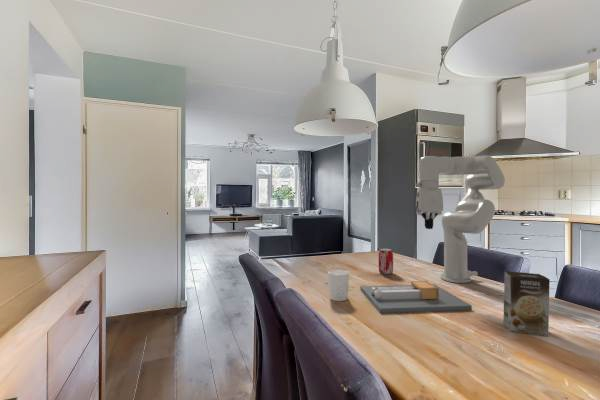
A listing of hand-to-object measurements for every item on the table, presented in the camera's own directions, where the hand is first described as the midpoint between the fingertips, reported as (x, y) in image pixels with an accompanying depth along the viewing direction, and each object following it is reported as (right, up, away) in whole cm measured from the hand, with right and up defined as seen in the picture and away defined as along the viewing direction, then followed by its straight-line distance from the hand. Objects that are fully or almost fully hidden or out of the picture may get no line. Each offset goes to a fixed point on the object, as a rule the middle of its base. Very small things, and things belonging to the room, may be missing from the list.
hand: (428, 228), depth 124 cm
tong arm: (-17, -24, -13) cm, 32 cm away
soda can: (-11, -25, +24) cm, 36 cm away
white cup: (-40, -26, -12) cm, 49 cm away
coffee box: (+11, -26, -39) cm, 48 cm away
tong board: (-13, -25, -14) cm, 32 cm away
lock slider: (-8, -24, -14) cm, 29 cm away
